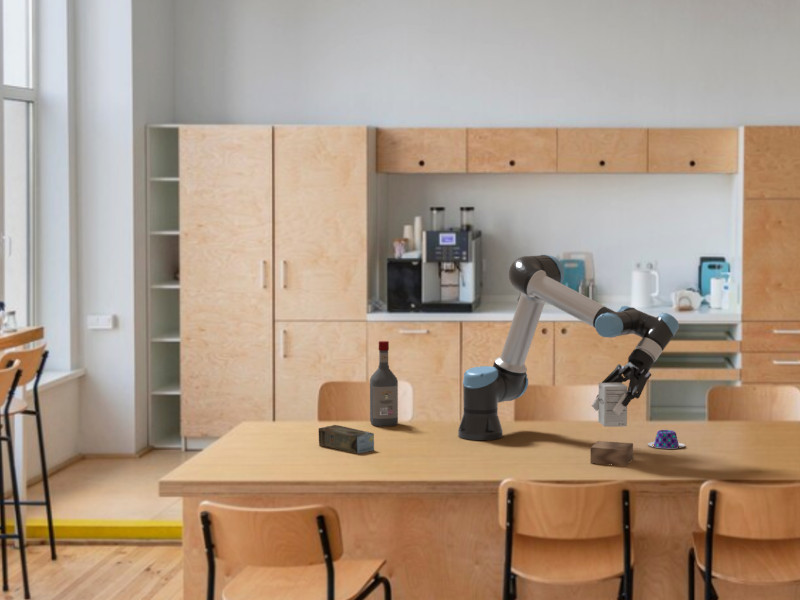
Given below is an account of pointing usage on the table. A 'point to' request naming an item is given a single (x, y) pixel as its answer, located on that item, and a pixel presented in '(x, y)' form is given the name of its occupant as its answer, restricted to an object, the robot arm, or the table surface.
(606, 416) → the supplement box
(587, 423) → the table surface
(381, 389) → the liquor
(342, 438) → the beverage carton
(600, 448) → the riser block
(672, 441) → the pudding
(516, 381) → the robot arm
